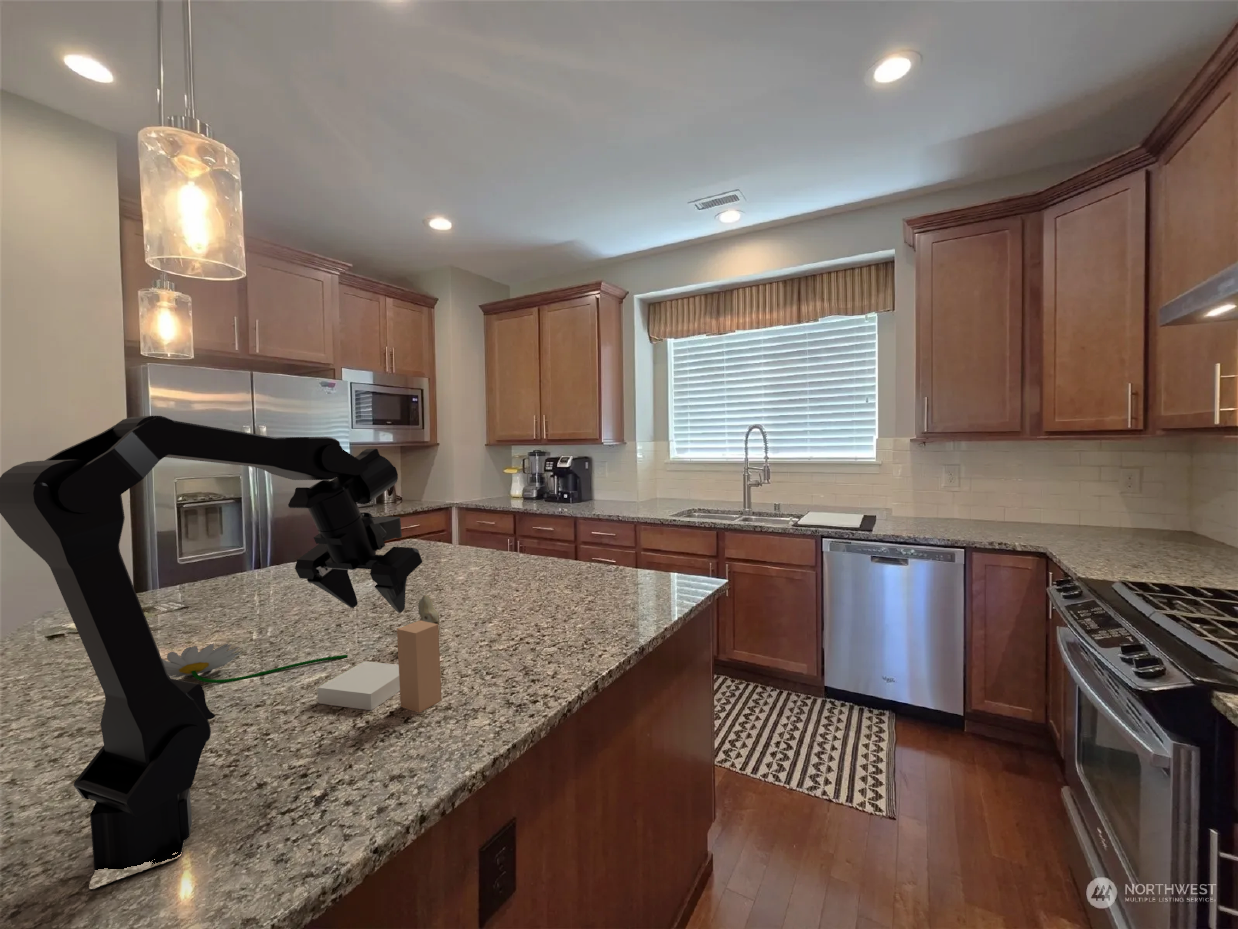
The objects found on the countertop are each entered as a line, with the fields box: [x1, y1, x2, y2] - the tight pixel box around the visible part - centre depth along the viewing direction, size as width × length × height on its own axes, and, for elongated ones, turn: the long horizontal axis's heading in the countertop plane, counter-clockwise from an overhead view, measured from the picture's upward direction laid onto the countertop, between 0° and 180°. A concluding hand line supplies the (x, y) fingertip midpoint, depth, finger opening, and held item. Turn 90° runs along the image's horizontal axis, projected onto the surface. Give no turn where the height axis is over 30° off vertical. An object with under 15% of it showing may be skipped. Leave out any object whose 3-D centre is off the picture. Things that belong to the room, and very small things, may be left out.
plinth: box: [316, 660, 400, 711], centre depth 85 cm, size 10×10×2 cm
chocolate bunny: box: [418, 594, 441, 630], centre depth 105 cm, size 6×8×10 cm
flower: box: [162, 643, 349, 684], centre depth 93 cm, size 13×6×30 cm
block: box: [396, 620, 443, 714], centre depth 80 cm, size 4×4×12 cm
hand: (377, 608), depth 80 cm, fingers open, 9 cm apart
